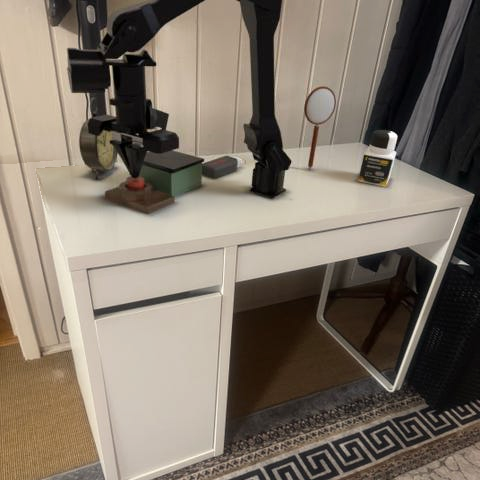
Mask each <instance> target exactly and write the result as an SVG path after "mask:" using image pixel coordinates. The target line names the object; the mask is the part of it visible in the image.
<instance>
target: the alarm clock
mask: <svg viewBox="0 0 480 480" xmlns="http://www.w3.org/2000/svg"><path fill="white" fill-rule="evenodd" d="M93 101H94V103H95V111H93V109H92V105H93ZM89 110H90V114H92V118H93V117H98V115H97V114H98V101H97V99H96V98H95V97H92V98H91V99H90V102H89ZM89 120H90V118H88V119H86V120H85V121H84V122H83V123H82V125H81V128H80V131H79V135H78V136H79V138H78V145H79V152H80V156H81V158H82V162H83V163H84V164H85V165H86V167H87V168H89V169H90V170H91V172H93V171H95V175H96V176H95V180H99V175H100V171H104V172H109V171H111V170H112V169H113V168H115V165H116V162H117V159H118V153H117V151H116V150H115V148H114V146H113V145H112V144H110V142H109V141H110V140H112V133H111V132H108V131H105V130H104V131H102V134H101V135H100V136H96V135H92V134H89V132H88V122H89Z"/></svg>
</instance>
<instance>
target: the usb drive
mask: <svg viewBox="0 0 480 480" xmlns="http://www.w3.org/2000/svg"><path fill="white" fill-rule="evenodd" d="M241 167H242V159H240V158H238V157H234V156H230V155H224V156H221V157H218V158H215V159H211V160H209V161H208V160H207V161H204V162H202V176H204V177H207V178H210V179H212V180H217V179H220V178H222V177H224V176H227V175H230V174H233V173H235V172H237V171H238V169H239V168H241Z"/></svg>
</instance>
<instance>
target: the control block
mask: <svg viewBox="0 0 480 480" xmlns="http://www.w3.org/2000/svg"><path fill="white" fill-rule="evenodd" d="M104 198H105V199H106V200H109V201H112V202H115V203H117V204H120V205H123V206H125V207H128V208H131V209H134V210H136V211H139V212H142V213H144V214H147V215H150V214H152V213H154V212H157V211H159V210H161V209H163V208H166V207H168V206H171V205H173V204H175V197H174V196H172V195H169V194H166V193H163V192H160V191H157V190H154V189H152V185H151V184H150V183H149V182H146V181H145V188H143V189H137V190H135V189H129V188H127V184H126V180H124V181H122V182H120V183H119V185H118V186H116V187H113V188H111V189H108V190H105V191H104Z"/></svg>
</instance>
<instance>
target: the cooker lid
mask: <svg viewBox="0 0 480 480" xmlns="http://www.w3.org/2000/svg"><path fill="white" fill-rule="evenodd" d="M199 163H205V158H203V157H200V156H195V155H191V154H188V153H185V152H180V151H176V150H172V151H168V152H165V153H162V154H156V153H153V152H150V151H147V153H146V155H145V158H144V161H143V164H145V165H148V166H152V167H155V168H159V169H162V170H166V171H169V172H173V173H174V172H177V171H180V170H183V169H186V168H188V167H191V166H194V165H197V164H199Z"/></svg>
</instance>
